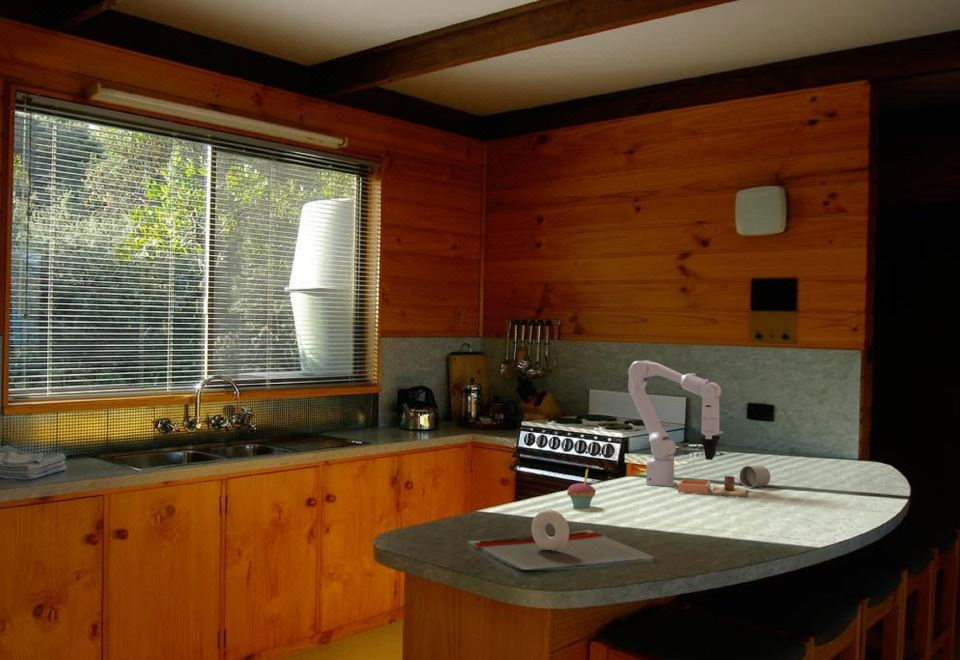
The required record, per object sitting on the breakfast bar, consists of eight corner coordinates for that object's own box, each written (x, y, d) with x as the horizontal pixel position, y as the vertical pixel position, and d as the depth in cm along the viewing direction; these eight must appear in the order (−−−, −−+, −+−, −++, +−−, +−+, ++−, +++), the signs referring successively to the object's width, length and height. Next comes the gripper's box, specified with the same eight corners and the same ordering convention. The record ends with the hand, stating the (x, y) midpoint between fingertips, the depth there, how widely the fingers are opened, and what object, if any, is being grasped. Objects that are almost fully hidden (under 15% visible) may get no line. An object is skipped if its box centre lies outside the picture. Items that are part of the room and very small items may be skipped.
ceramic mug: (772, 487, 303) (772, 465, 303) (756, 489, 298) (756, 467, 298) (747, 483, 311) (747, 461, 312) (731, 485, 307) (731, 463, 307)
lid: (712, 493, 288) (712, 478, 288) (714, 488, 298) (714, 473, 298) (745, 495, 284) (745, 480, 284) (746, 490, 294) (746, 475, 294)
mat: (711, 495, 287) (711, 494, 287) (714, 488, 299) (714, 487, 299) (746, 497, 283) (746, 496, 283) (748, 491, 295) (748, 489, 295)
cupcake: (598, 505, 268) (599, 466, 268) (590, 510, 260) (590, 470, 260) (572, 503, 271) (572, 464, 271) (562, 508, 264) (563, 467, 264)
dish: (677, 492, 291) (678, 483, 291) (681, 488, 300) (681, 479, 300) (707, 494, 288) (707, 485, 288) (710, 489, 297) (710, 481, 297)
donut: (528, 549, 213) (528, 508, 213) (535, 546, 215) (535, 505, 215) (564, 555, 207) (565, 513, 207) (571, 552, 210) (572, 510, 210)
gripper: (721, 420, 291) (720, 461, 291) (724, 416, 304) (723, 456, 304) (699, 419, 293) (698, 460, 293) (703, 415, 307) (702, 454, 307)
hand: (710, 458), depth 299 cm, fingers open, 7 cm apart
